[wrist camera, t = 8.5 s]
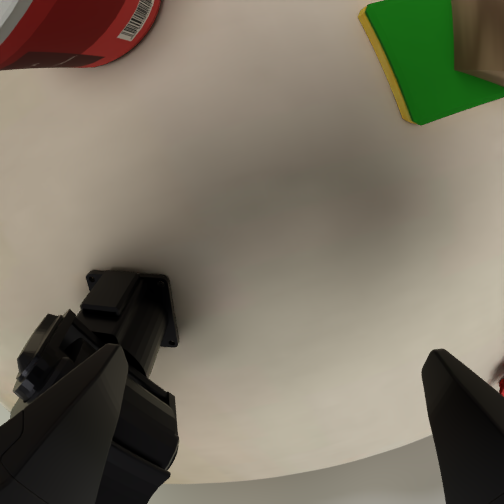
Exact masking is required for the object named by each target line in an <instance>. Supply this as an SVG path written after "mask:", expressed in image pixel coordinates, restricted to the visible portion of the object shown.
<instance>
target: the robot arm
mask: <svg viewBox="0 0 504 504" xmlns="http://www.w3.org/2000/svg"><path fill="white" fill-rule="evenodd" d="M92 277H93V278H94V279H93V278H92ZM86 280H87V283H88V287H89V290H90V292H89V294H88V295H87V297H86V298H85V299H84V301H83V302H82V304H81V305H80V308H81V310H80V312H79V313H78V315H77V316H76V315H75V314H74V313H73V312H72V311H71V310H70V309H69V310H68V311H67V312H66V313H65V314H64V315H63V316H62V315H60V316H55V315H51V314H47V316H46V317H45V318H44V319H43V321H42V322H41V323H40V325H39V326H38V327H37V329H36V330H35V331H34V333H33V334H32V336H31V337H30V339H29V340H28V342H27V343H26V345H25V347H24V348H23V350H22V352H21V353H20V355H19V357H18V358H17V362H18V369H19V373H18V375H17V378H16V379H17V381H16V384H15V386H14V389H13V392H14V393H15V394H16V395H17V396H18V397H19V399H18V401H17V402H16V404H15V405H14V407H13V409H12V411H11V415H10V419H9V420H8V421H7V422H6V423H4V424H3V425H1V426H0V504H147V503H148V501H149V499H150V498H151V496H152V495H153V494H154V492H155V491H156V490H157V489H158V487H159V486H160V485H161V484H163V483H164V482H165V481H166V480H167V479H168V478H169V477H170V475H171V474H170V472H169V471H167V470H168V469H169V468H170V466H171V465H172V463H173V461H174V459H175V457H176V454H177V451H178V444H179V437H178V430H177V419H176V406H175V396H174V395H172V394H171V393H169V392H166V391H164V390H163V389H162V388H160V387H159V386H158V385H156V384H155V383H154V382H152V381H151V380H150V379H149V376H150V373H151V370H152V368H153V365H154V362H155V359H156V356H157V353H158V351H159V348H160V346H163V347H177V346H178V343H179V337H178V331H177V326H176V320H175V314H174V308H173V301H172V295H171V288H170V281H169V279H168V278H167V277H166V276H164V275H155V274H138V273H136V272H120V271H105V272H104V271H90V272H89V273H88V274H87V276H86ZM159 281H162V282H163V283H164V284H161V283H160V282H159ZM172 341H174V342H172ZM422 381H423V386H424V392H425V398H426V405H427V412H428V417H429V422H430V426H431V430H432V434H433V438H434V443H435V447H436V451H437V456H438V461H439V466H440V471H441V476H442V482H443V487H444V493H445V500H446V504H504V397H503V396H502V395H501V394H500V393H499V392H497V391H496V390H495V389H494V388H493V387H491V386H490V385H489V384H488V383H486V382H485V381H484V380H483V379H482V378H480V377H479V376H478V375H477V374H475V373H474V372H473V371H472V370H470V369H469V368H468V367H467V366H465V365H464V364H463V363H462V362H460V361H459V360H458V359H457V358H455V357H454V356H453V355H451V354H450V353H449V352H448V351H446V350H445V349H434V350H432V351H431V352H430V354H429V356H428V358H427V360H426V362H425V364H424V366H423V368H422Z"/></svg>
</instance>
